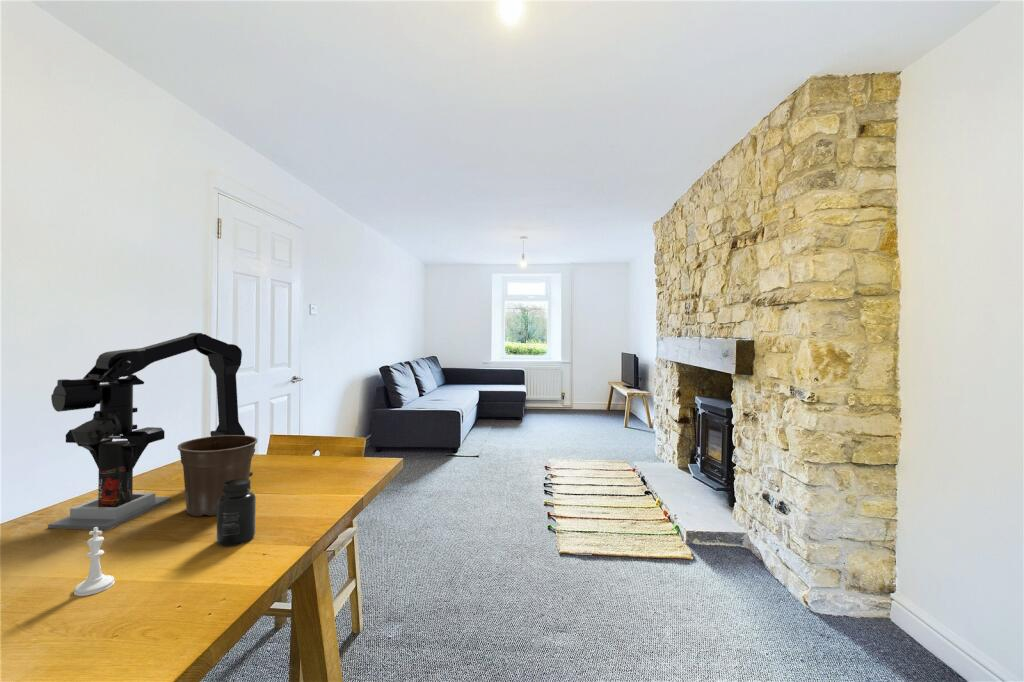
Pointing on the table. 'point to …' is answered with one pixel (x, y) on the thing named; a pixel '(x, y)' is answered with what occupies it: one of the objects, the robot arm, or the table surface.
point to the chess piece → (94, 569)
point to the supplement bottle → (236, 513)
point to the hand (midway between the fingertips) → (115, 471)
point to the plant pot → (213, 468)
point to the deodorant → (113, 475)
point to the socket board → (108, 513)
